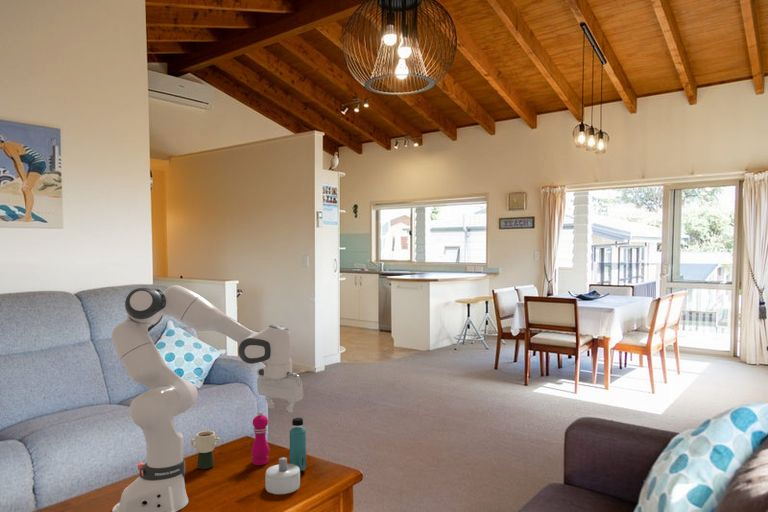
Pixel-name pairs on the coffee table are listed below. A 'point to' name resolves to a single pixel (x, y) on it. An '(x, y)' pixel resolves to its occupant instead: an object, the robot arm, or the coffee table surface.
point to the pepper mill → (260, 440)
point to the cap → (282, 478)
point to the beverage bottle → (298, 444)
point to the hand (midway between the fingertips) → (280, 410)
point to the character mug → (205, 448)
